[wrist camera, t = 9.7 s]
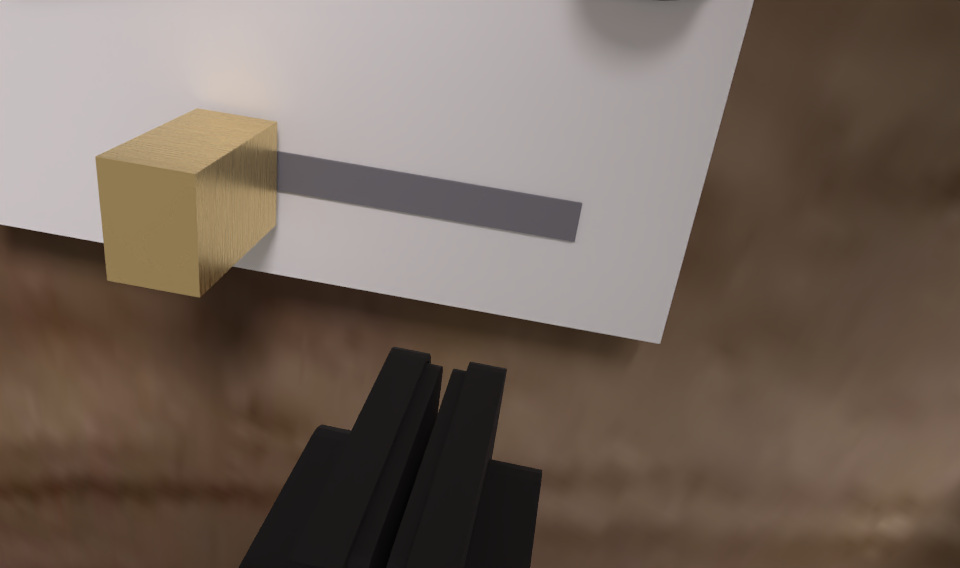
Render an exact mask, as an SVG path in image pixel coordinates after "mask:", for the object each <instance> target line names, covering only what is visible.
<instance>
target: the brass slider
mask: <svg viewBox="0 0 960 568" xmlns="http://www.w3.org/2000/svg"><path fill="white" fill-rule="evenodd" d="M95 160H96V170H97V180H98V191H99V201H100V211H101V221H102V232H103V242H104V252H105V262H106V273H107V281H113V282H118V283H124V284H129V285H134V286H140V287H145V288H151V289H156V290H162V291H167V292H172V293H178V294H183V295H189V296H194V297H199V298H200V297H201V296H202V295H203V294H204V293H205V292H206V291H207V290H208V289H209V288H211V287H212V286H213V285H214V284H215V283H216V282H217V281H218V280H219V279H220V278H221V277H222V276H223V275H224V274H225V273H226V272H227V271H228V270H229V269H230V268H231V267H233V266H234V265H235V264H236V263H237V262H238V261H239V260H240V259H241V258H242V257H243V256H244V255H245V254H246V253H247V252H248V251H249V250H250V249H251V248H252V247H253V246H254V245H256V244H257V243H258V242H259V241H260V240H261V239H262V238H263V237H264V236H265V235H266V234H267V233H268V232H269V231H270V230H271V229H272V228H273V227H274V226H275V225H276V190H277V122H276V121H270V120H264V119H258V118H252V117H246V116H240V115H234V114H228V113H222V112H216V111H210V110H204V109H199V108H196V109H194V110H192V111H190V112H188V113H186V114H184V115H182V116H179V117H177V118H175V119H173V120H171V121H169V122H167V123H165V124H163V125H161V126H158V127H156V128H154V129H152V130H150V131H148V132H146V133H144V134H142V135H139V136H137V137H135V138H133V139H131V140H129V141H127V142H125V143H123V144H121V145H118V146H116V147H114V148H112V149H110V150H108V151H106V152H104V153H102V154H99V155H97V156H95Z"/></svg>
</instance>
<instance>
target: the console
mask: <svg viewBox="0 0 960 568" xmlns="http://www.w3.org/2000/svg"><path fill="white" fill-rule="evenodd" d="M753 2H754V0H0V224H1V225H7V226H12V227H18V228H23V229H29V230H34V231H40V232H45V233H51V234H56V235H62V236H67V237H73V238H78V239H84V240H89V241H95V242H100V243H104V242H103V232H102V221H101V211H100V201H99V191H98V180H97V170H96V160H95V156H97V155H99V154H102V153H104V152H106V151H108V150H110V149H112V148H114V147H116V146H118V145H121V144H123V143H125V142H127V141H129V140H131V139H133V138H135V137H137V136H139V135H142V134H144V133H146V132H148V131H150V130H152V129H154V128H156V127H158V126H161V125H163V124H165V123H167V122H169V121H171V120H173V119H175V118H177V117H179V116H182V115H184V114H186V113H188V112H190V111H192V110H194V109H196V108H199V109H204V110H210V111H216V112H222V113H228V114H234V115H240V116H246V117H252V118H258V119H264V120H270V121H276V122H277V190H276V225H275V226H274V227H273V228H272V229H271V230H270V231H269V232H268V233H267V234H266V235H265V236H264V237H263V238H262V239H261V240H260V241H259V242H258V243H257V244H256V245H254V246H253V247H252V248H251V249H250V250H249V251H248V252H247V253H246V254H245V255H244V256H243V257H242V258H241V259H240V260H239V261H238V262H237V263H236V264H235V265H234V266H233V267H238V268H244V269H249V270H255V271H260V272H266V273H271V274H277V275H282V276H288V277H293V278H299V279H304V280H310V281H315V282H321V283H326V284H332V285H337V286H343V287H349V288H354V289H360V290H365V291H371V292H376V293H382V294H387V295H393V296H398V297H404V298H409V299H415V300H420V301H426V302H431V303H437V304H442V305H448V306H453V307H459V308H464V309H470V310H475V311H481V312H486V313H492V314H497V315H503V316H508V317H514V318H519V319H525V320H530V321H536V322H541V323H547V324H552V325H558V326H563V327H569V328H575V329H580V330H586V331H591V332H597V333H602V334H608V335H613V336H619V337H624V338H630V339H635V340H641V341H646V342H652V343H657V344H660V342H661V338H662V335H663V331H664V327H665V324H666V320H667V316H668V313H669V309H670V305H671V302H672V298H673V294H674V291H675V287H676V284H677V280H678V276H679V273H680V269H681V265H682V262H683V258H684V254H685V251H686V247H687V243H688V240H689V236H690V232H691V229H692V225H693V221H694V218H695V214H696V210H697V207H698V203H699V199H700V196H701V192H702V188H703V185H704V181H705V177H706V174H707V170H708V166H709V163H710V159H711V155H712V152H713V148H714V144H715V141H716V137H717V134H718V130H719V126H720V123H721V119H722V115H723V112H724V108H725V104H726V101H727V97H728V93H729V90H730V86H731V82H732V79H733V75H734V71H735V68H736V64H737V60H738V57H739V53H740V49H741V46H742V42H743V38H744V35H745V31H746V27H747V24H748V20H749V16H750V13H751V9H752V5H753Z"/></svg>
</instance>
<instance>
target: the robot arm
mask: <svg viewBox="0 0 960 568" xmlns="http://www.w3.org/2000/svg"><path fill="white" fill-rule="evenodd" d="M506 371H507V369H505V368H500V367H495V366H490V365H484V364H479V363H474V362H470V363H469V366H468V369H467V371H463V370H458V369H453V371H452V374H451V377H450V380H449V383H448V386H447V389H446V392H445V394H444V397H443V400H442V403H441V406H440V409H439V412H438V406H439V398H440V390H441V382H442V373H443V367H442V366H438V365H433V364H431V355H430V354H428V353H423V352H418V351H413V350H408V349H403V348H398V347H393V348H392V349H391V351H390V353H389V355H388V357H387V359H386V361H385V363H384V365H383V367H382V369H381V371H380V373H379V375H378V377H377V379H376V381H375V383H374V385H373V388H372V390H371V392H370V394H369V396H368V398H367V400H366V402H365V404H364V406H363V408H362V410H361V412H360V414H359V416H358V418H357V420H356V422H355V425H354V427H353V429H352V431H350V430H345V429H340V428H336V427H331V426H326V425H320V426H319V427H317V429H316V430H315V432H314V433H313V435H312V436H311V438H310V440H309V442H308V443H307V445H306V447H305V449H304V451H303V453H302V454H301V456H300V458H299V460H298V462H297V463H296V465H295V467H294V469H293V471H292V472H291V474H290V476H289V478H288V480H287V481H286V483H285V485H284V487H283V489H282V490H281V492H280V494H279V496H278V498H277V499H276V501H275V503H274V505H273V507H272V508H271V510H270V512H269V514H268V516H267V517H266V519H265V521H264V523H263V525H262V527H261V528H260V530H259V532H258V534H257V536H256V537H255V539H254V541H253V543H252V545H251V546H250V548H249V550H248V552H247V554H246V555H245V557H244V559H243V561H242V563H241V564H240V566H239V568H530V563H531V556H532V548H533V540H534V532H535V525H536V517H537V509H538V502H539V494H540V486H541V478H542V470H540V469H535V468H530V467H525V466H520V465H515V464H510V463H506V462H501V461H496V460H492V454H493V448H494V442H495V436H496V430H497V425H498V419H499V413H500V407H501V401H502V395H503V389H504V384H505V378H506ZM437 414H438V415H437Z"/></svg>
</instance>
